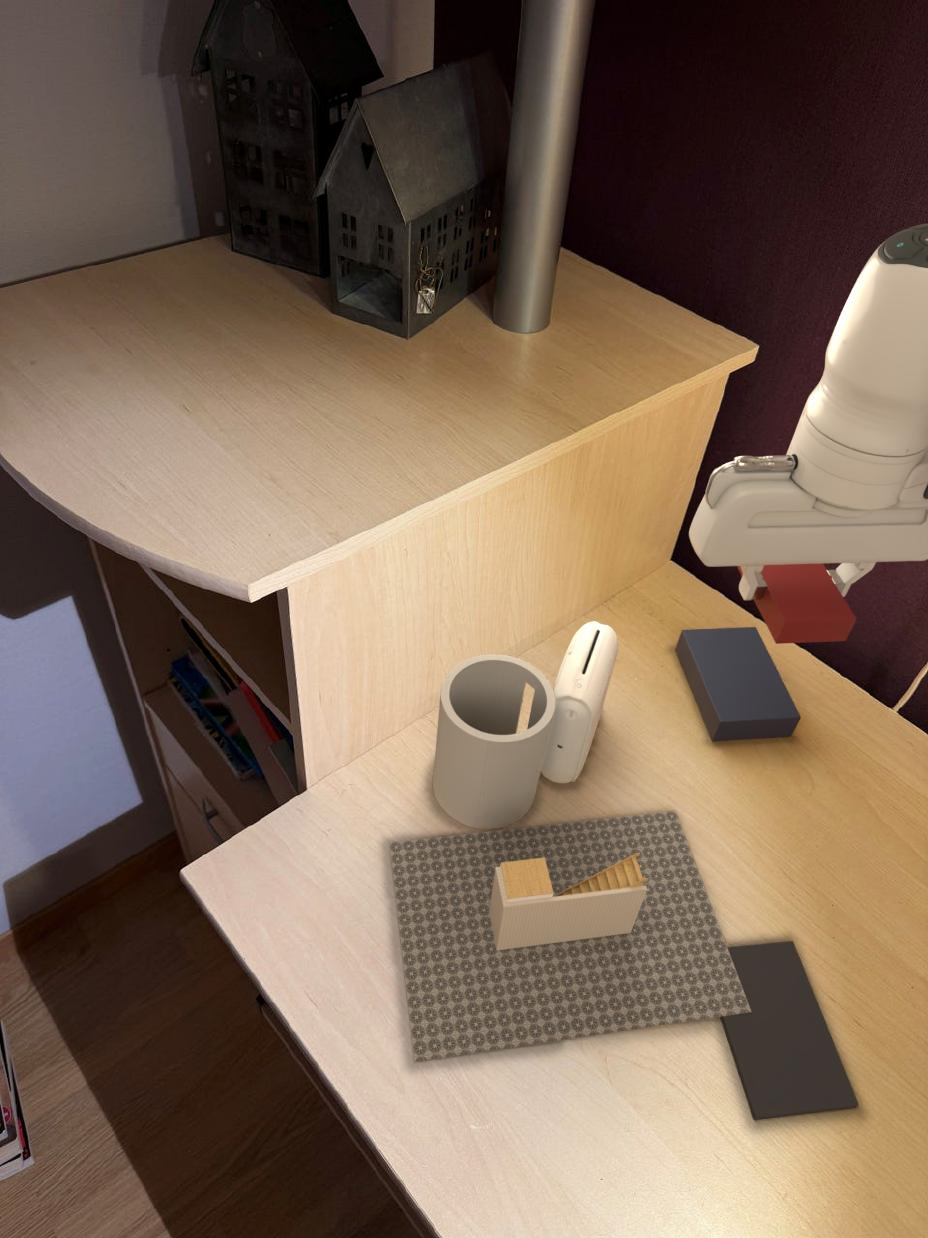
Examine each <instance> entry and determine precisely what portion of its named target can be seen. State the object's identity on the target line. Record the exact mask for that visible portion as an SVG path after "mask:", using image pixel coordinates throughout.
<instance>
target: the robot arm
mask: <svg viewBox="0 0 928 1238" xmlns="http://www.w3.org/2000/svg"><path fill="white" fill-rule="evenodd" d="M688 538H689V540H690V543H691V546H692V548H693V550H694V552H695V554H696V555H697V557H698V558H699V560H700V562H701V563H703V565H704V566H706V567H709V568H711V567H712V568H713V567H714V568H716V567H737V566H740V567H741V570H742V572H743V576H742V575H741V579H740V581H739V584H738V591H739V593H740V595H741V597H742V600H743V601H754V600H761V599H762V598H763V594H764V593H765V591H766V588H767V587H768V586H767V584H766V582H765V581H764V580H763V576H762V574H761V573H760V572H761V571H762V570H763V567H764V565H789V564H823V565H824V564H839V565H838V566H837V567H836V568H835V569H826V570H827V572H828V574H829V575H830V576H831V578H832V580H833V582H834V584H835V585H836V586H837V588H838V590H839V591H840V593H841V594H842V596H843V598H844V597H846V596H847V594H848V593H849V590H850V588H851V586H852V585H853V584H854V583H856V582H857V581H858V580H860V579H861V578H862V577H864V576H865V575H866V574H869V572H871V571H873V569H874V567H875V565H876V564H877V563H884V562H885V563H890V562H893V563H894V562H895V563H896V562H924V561H927V560H928V223H923V224H918V225H913V226H910V227H908V228H905V229H903V230H900V231H897V232H896V233H894V234H892V235H890V237H888V238H886V239H885V240H884V241H883V242H882V243H881V244H880V245H879V246H878V247H877V248H876V249H875V250H874V252H873V253H872V255H871V256H870V257H869V258H868V260H867V261H866V263H865V265H864V266H863V268H862V270H861V272H860V274H859V275H858V277H857V279H856V281H855V282H854V284H853V286H852V289H851V291H850V293H849V295H848V297H847V299H846V302H845V303H844V306H843V308H842V311H841V312H840V315H839V317H838V320H837V322H836V324H835V326H834V329H833V332H832V335H831V337H830V339H829V342H828V345H827V347H826V349H825V358H824V370H823V373H822V376H821V379H820V381H819V382H818V384H816V386H815V387H814V389H813V390H812V391H811V393H810V394H809V395H808V398H807V400H806V402H805V405H804V407H803V409H802V413H801V414H800V417H799V420H798V422H797V425H796V428H795V431H794V433H793V436H792V439H791V441H790V444H789V447H788V449H787V451H786V453H785V455H784V454H783V455H781V454H780V455H779V454H778V455H777V454H776V455H765V456H754V455H739V456H735V457H734V458H733V460H732V461H729V462H726V463H725V464H722V465H721V466H719V467H716V468H714V470H713V471H712V473H711V474H710V476H709V479H708V483H707V486H706V489H705V494H704V495H703V497H702V500H701V502H700V503H699V505H698V507H697V510H696V511H695V514H694V516H693V519H692V521H691V524H690V527H689V531H688Z"/></svg>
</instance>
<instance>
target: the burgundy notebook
mask: <svg viewBox="0 0 928 1238" xmlns="http://www.w3.org/2000/svg"><path fill="white" fill-rule="evenodd" d="M736 567H737V570H738V571H739V574H740V575H741V577H742V576H743V572H742V570H741V567H740V566H736ZM827 570H828V569H827V568H826V566H825V565H824V564H789V565H764V567H763V570H762V571H761V572H760V573H761V574H762V576H763V580H764V581H765V582H766V584H767V586H768V587H767V588H766V591H765V593H764V594H763V598H762V599H761V600H753V601H754V604H755V606H756V607H757V609H758V611H759V614H760V615H761V617H762V619H763V621H764V623H765V625H766V627H767V629H768V631H769V633H770V636H771V637H772V639H773V641H774V643H775V644H778V645H780V644H801V643H803V644H804V643H805V644H806V643H827V642H828V643H830V642H845V641H846V640H847V639H848V637H849V635H850V633H851V631H852V629H853V627H854V625H855V624H856V622H857V617H856V615H855V614H854V613H853V611H852V609H851V608H850V605H849V604H848V602H847V600H846V599H845V598H844V597H843V596H842V594H841V593H840V591H839V590H838V588H837V586H836V585H835V584H834V582H833V580H832V578H831V576H830V575H829V574H828V572H827Z"/></svg>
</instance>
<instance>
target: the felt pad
mask: <svg viewBox="0 0 928 1238" xmlns="http://www.w3.org/2000/svg"><path fill="white" fill-rule="evenodd" d="M727 948H728V951H729V953H730V956H731V959H732V961H733V964H734V966H735V969H736V972H737V974H738V977H739V980H740V982H741V985H742V988H743V990H744V993H745V996H746V998H747V1001H748V1004H749V1006H750V1009H751V1011H752V1012H750V1013H743V1014H736V1015H729V1016H723V1017H719V1019H720V1021H721V1024H722V1027H723V1030H724V1033H725V1036H726V1039H727V1042H728V1045H729V1048H730V1052H731V1055H732V1058H733V1061H734V1064H735V1067H736V1070H737V1073H738V1076H739V1079H740V1082H741V1085H742V1088H743V1092H744V1095H745V1098H746V1100H747V1101H746V1102H747V1104H748V1108H749V1109H750V1113H751V1116H752V1119H753V1121H762V1120H770V1119H779V1118H785V1117H786V1118H787V1117H793V1116H794V1117H795V1116H803V1115H809V1114H811V1115H812V1114H819V1113H825V1112H835V1111H843V1110H851V1109H856V1108H858V1107H859V1106H860V1104H859V1101H858V1099H857V1097H856V1094H855V1092H854V1089H853V1087H852V1084H851V1081H850V1079H849V1077H848V1074H847V1071H846V1069H845V1067H844V1064H843V1062H842V1059H841V1057H840V1054H839V1052H838V1050H837V1046H836V1044H835V1042H834V1039H833V1037H832V1035H831V1032H830V1029H829V1027H828V1024H827V1022H826V1020H825V1017H824V1015H823V1012H822V1010H821V1008H820V1005H819V1002H818V1000H817V998H816V994H815V992H814V989H813V987H812V984H811V982H810V979H809V977H808V975H807V972H806V970H805V968H804V965H803V961H802V960H801V957H800V956H799V952H798V950H797V948H796V946H795V943H794V941H793V940H787V941H778V942H766V943H758V944H757V943H756V944H746V945H736V946H727Z"/></svg>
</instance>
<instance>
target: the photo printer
mask: <svg viewBox="0 0 928 1238" xmlns="http://www.w3.org/2000/svg"><path fill="white" fill-rule="evenodd" d="M618 652H619V641H618V636H617V634H616V632H615V630H614V629H613V627H611V626H610V625H608V624H602V623H600V622H598V621H595V620H593V621H589V622H586V623H584V624H583V625H582V626H581V627H579V629H578V630H577V631H576V632H575V633H574V635H573V637H572V639H571V640H570V643H569V644H568V647H567V650H566V652H565V654H564V656H563V659H562V661H561V664H560V667H559V669H558V673H557V676H556V679H555V683H554V686H553V688H552V689H553V690H554V695H555V711H554V715H553V719H552V724H551V728H550V733H549V737H548V741H547V746H546V750H545V755H544V759H543V764H542V768H541V772H540V773H541V774H542V775H543V777H545V778H546V779H548V780H549V781H551V782H554V783H557V784H569V783H570V782H573V783H575V782H576V780H577V779H578V778H579V776H580V774H581V772H582V770H583V768H584V765H585V763H586V760H587V757H588V756H589V755H588V754H589V752H590V749H591V746H592V744H593V740H594V738H595V734H596V731H597V727H598V726H599V722H600V718H601V715H602V711H603V707H604V704H605V700H606V697H607V693H608V689H609V685H610V681H611V678H612V674H613V671H614V667H615V663H616V660H617V656H618Z"/></svg>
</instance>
